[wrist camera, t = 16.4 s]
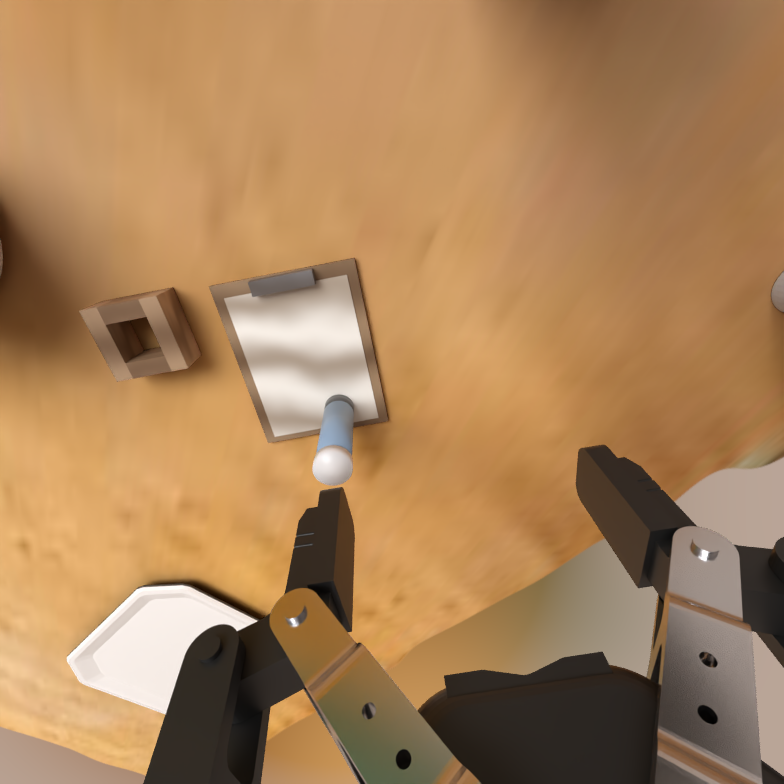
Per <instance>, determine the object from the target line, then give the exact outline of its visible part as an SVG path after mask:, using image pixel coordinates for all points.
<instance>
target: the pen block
mask: <svg viewBox="0 0 784 784" xmlns="http://www.w3.org/2000/svg"><path fill="white" fill-rule="evenodd" d="M79 312H80V314H81V316H82V318H83V320H84V322H85V323H86V325H87V327H88V329H89V331H90V333H91V335H92V336H93V338H94V340H95V342H96V344H97V346H98V347H99V349H100V351H101V353H102V355H103V357H104V359H105V360H106V362H107V364H108V366H109V368H110V370H111V371H112V373H113V375H114V377H115V379H116V381H117V382H118V381H123V380H129V379H134V378H139V377H144V376H150V375H155V374H160V373H166V372H171V371H176V370H181V369H187V368H189V367H190V366H191V365H192V364H193V363H194V362H195V361H196V360H197V359H198V358H199V357H200V356H201V353H200V350H199V348H198V346H197V343H196V341H195V338H194V336H193V334H192V331H191V329H190V327H189V324H188V322H187V319H186V317H185V315H184V312H183V310H182V308H181V305H180V303H179V300H178V298H177V296H176V293H175V291H174V289H173V288H168V289H163V290H157V291H152V292H147V293H142V294H137V295H132V296H126V297H121V298H116V299H111V300H106V301H101V302H99V303H97V304H94V305H92V306H89V307H87V308H85V309H82V310H80V311H79ZM143 317H147V319H148V321H149V324H150V326H151V328H152V330H153V332H154V334H155V336H156V339H157V341H158V343H159V345H160V347H158V348H153V349H148V350H143V348H142V346H141V344H140V342H139V340H138V338H137V336H136V334H135V331H134V329H133V327H132V325H131V323H130V321H129V320H133V319H138V318H143Z"/></svg>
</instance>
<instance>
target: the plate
mask: <svg viewBox="0 0 784 784" xmlns="http://www.w3.org/2000/svg"><path fill="white" fill-rule="evenodd" d="M257 621H259V619H257V618H255V617H253V616H251V615H249V614H247V613H245V612H244V611H242V610H240V609H238V608H236V607H234V606H232V605H230V604H228V603H226V602H224V601H222V600H220V599H218V598H216V597H214V596H212V595H210V594H208V593H206V592H204V591H202V590H200V589H198V588H196V587H194V586H192V585H189V584H185V583H178V584H158V585H144V586H141V587H138V588H137V589H136V590H135V591H134V592H133V593H132V594H131V595H130V596H129V597H128V598H127V599H126V600H125V601H124V602H123V603H122V604H121V605H119V606H118V607H117V608H116V609H115V610H114V611H113V612H112V613H111V614H110V615H109V616H108V617H107V618H106V619H105V620H104V621H103V622H102V623H101V624H100V625H99V626H98V627H97V628H96V629H95V630H94V631H93V632H92V633H91V634H90V635H89V636H87V637H86V638H85V639H84V640H83V641H82V642H81V643H80V644H79V645H78V646H77V647H76V648H75V649H74V650H73V651H72V652H71V653H70V654H69V655H68V656H67V662H68V663H69V665H70V667H71V668H72V670H73V672H74V673H75V675H76V677H77V678H78V680H79V681H80V682H81V683H82V684H84V685H86V686H89V687H92V688H95V689H97V690H100V691H103V692H106V693H108V694H111V695H114V696H117V697H119V698H122V699H125V700H128V701H130V702H133V703H136V704H139V705H141V706H144V707H147V708H150V709H152V710H155V711H158V712H160V713H163V714H166V712H167V709H168V706H169V702H170V699H171V696H172V693H173V690H174V687H175V684H176V681H177V678H178V674H179V671H180V668H181V665H182V662H183V659H184V656H185V653H186V651H187V649H188V648H189V646H190V645H191V643H192V642H193V641H194V640H195V639H196V638H197V637H198V636H199V635H200V634H201V633H202V632H204V631H205V630H207V629H208V628H210V627H213V626H216V625H220V624H227V625H231V626H232V627H234V628H235V629H236V631H238V630H241V629H243V628H245V627H247V626H249V625H251V624H253V623H255V622H257Z"/></svg>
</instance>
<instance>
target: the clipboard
mask: <svg viewBox="0 0 784 784" xmlns="http://www.w3.org/2000/svg"><path fill="white" fill-rule="evenodd" d="M209 288H210V291H211V294H212V296H213V299H214V302H215V304H216V307H217V309H218V312H219V315H220V317H221V320H222V323H223V325H224V328H225V330H226V333H227V336H228V338H229V341H230V344H231V346H232V349H233V351H234V354H235V357H236V359H237V362H238V365H239V367H240V370H241V373H242V375H243V378H244V380H245V383H246V386H247V388H248V391H249V394H250V396H251V399H252V401H253V404H254V407H255V409H256V412H257V415H258V417H259V420H260V423H261V425H262V428H263V430H264V433H265V436H266V438H267V441H268V443H271V442H277V441H282V440H288V439H293V438H298V437H304V436H309V435H315V434H320V430H321V425H322V419H323V414H324V408H325V403H326V401H327V400H328V399H329V398H330V397H331V396H333V395H338V394H340V395H345V396H347V397H349V398H350V399H351V400H352V402H353V404H354V420H353V427H358V426H364V425H369V424H375V423H380V422H385V421H388V416H387V411H386V406H385V402H384V397H383V392H382V387H381V383H380V378H379V373H378V368H377V363H376V359H375V354H374V349H373V344H372V340H371V335H370V330H369V325H368V321H367V316H366V311H365V306H364V301H363V297H362V292H361V287H360V282H359V278H358V273H357V268H356V263H355V259H354V258H351V259H346V260H341V261H336V262H331V263H326V264H320V265H315V266H310V267H305V268H300V269H295V270H289V271H284V272H279V273H274V274H269V275H264V276H259V277H253V278H248V279H243V280H238V281H233V282H228V283H222V284H217V285H212V286H210V287H209Z"/></svg>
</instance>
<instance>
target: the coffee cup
mask: <svg viewBox="0 0 784 784" xmlns="http://www.w3.org/2000/svg"><path fill="white" fill-rule="evenodd" d="M771 298H772V302H773V304H774V306H775V307H776V308H777V309H778V310H780V311H782V312H784V271H783V272H782V273H781V275H780V276H779V277H778V278H777V280H776V282H775V283H774V286H773V288H772V292H771Z"/></svg>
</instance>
